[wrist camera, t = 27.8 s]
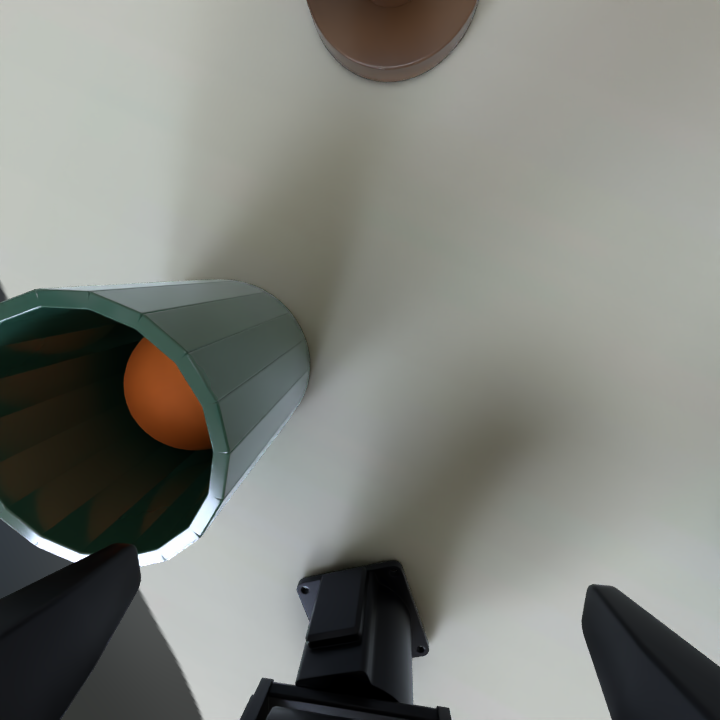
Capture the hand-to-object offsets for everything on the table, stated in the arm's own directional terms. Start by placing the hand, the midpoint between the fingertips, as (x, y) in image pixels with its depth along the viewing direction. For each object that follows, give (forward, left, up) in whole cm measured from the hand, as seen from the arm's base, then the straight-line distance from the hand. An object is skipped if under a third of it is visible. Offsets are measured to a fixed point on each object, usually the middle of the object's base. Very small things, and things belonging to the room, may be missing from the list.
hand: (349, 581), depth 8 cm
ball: (+4, +7, -10) cm, 12 cm away
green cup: (+4, +7, -13) cm, 15 cm away
